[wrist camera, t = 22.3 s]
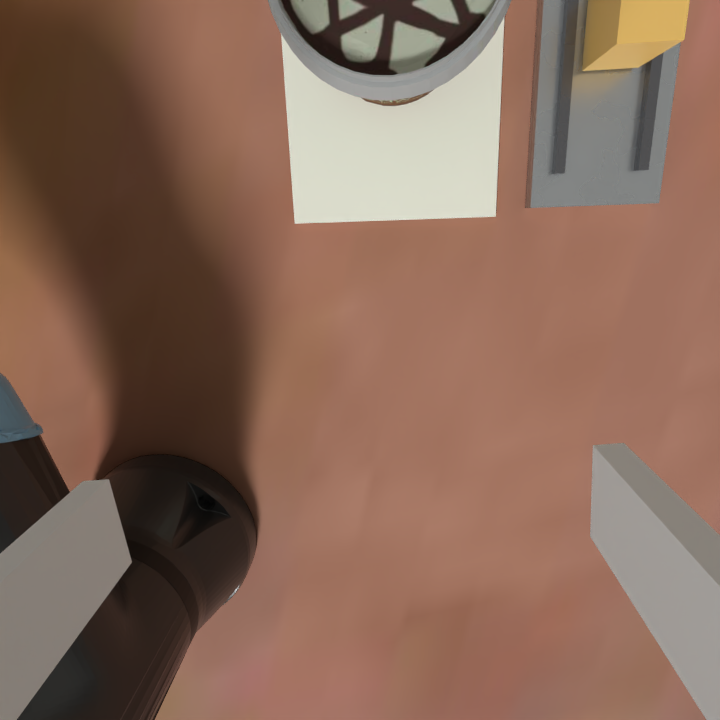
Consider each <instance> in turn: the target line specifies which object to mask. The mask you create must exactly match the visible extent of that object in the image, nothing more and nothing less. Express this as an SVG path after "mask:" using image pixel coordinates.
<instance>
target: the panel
mask: <svg viewBox="0 0 720 720" xmlns="http://www.w3.org/2000/svg"><path fill="white" fill-rule="evenodd" d="M587 6H588V0H538V1H537V18H536V34H535V51H534V68H533V84H532V101H531V118H530V134H529V151H528V168H527V184H526V201H525V208H537V207H565V206H592V205H620V204H647V203H659V198H660V191H661V184H662V176H663V169H664V161H665V154H666V147H667V139H668V132H669V125H670V117H671V110H672V102H673V95H674V88H675V80H676V73H677V66H678V58H679V51H680V43H681V42H680V43H678V44H676V45H675V46H673V47H671V48H670V49H668V50H666V51H665V52H663V53H662V54H660V55H658V56H657V57H655V58H653V59H652V60H650V61H648V62H647V63H645V64H643V65H642V66H640V67H638V68H624V69H608V70H591V71H582V65H583V53H584V41H585V30H586V18H587Z"/></svg>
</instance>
